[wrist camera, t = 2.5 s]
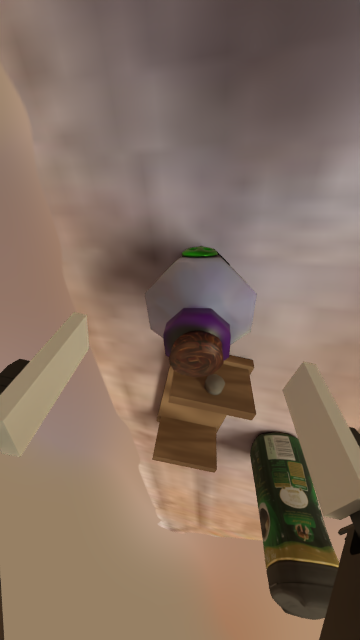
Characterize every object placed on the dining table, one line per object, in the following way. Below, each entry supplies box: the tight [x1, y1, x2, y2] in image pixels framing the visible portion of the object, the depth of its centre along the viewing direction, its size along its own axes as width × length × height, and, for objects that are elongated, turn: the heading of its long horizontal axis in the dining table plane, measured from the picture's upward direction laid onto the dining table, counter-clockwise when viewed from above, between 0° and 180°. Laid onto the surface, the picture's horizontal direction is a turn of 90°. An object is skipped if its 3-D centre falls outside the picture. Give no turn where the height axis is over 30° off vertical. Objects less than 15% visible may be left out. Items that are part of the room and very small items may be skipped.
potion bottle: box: [145, 246, 257, 377], centre depth 18 cm, size 9×9×12 cm
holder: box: [152, 355, 256, 472], centre depth 30 cm, size 17×10×7 cm, turn 169°
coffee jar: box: [250, 432, 339, 620], centre depth 32 cm, size 10×8×19 cm
